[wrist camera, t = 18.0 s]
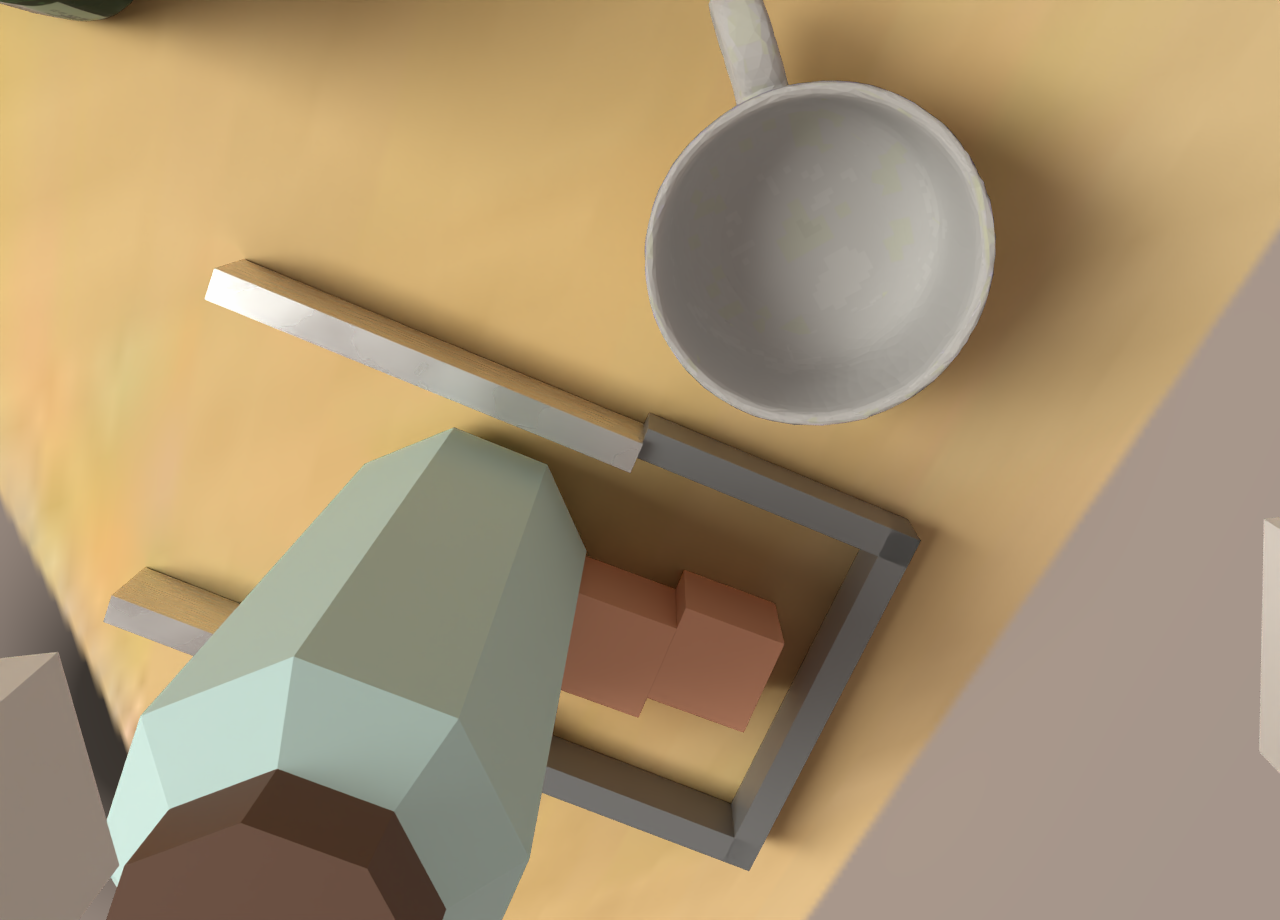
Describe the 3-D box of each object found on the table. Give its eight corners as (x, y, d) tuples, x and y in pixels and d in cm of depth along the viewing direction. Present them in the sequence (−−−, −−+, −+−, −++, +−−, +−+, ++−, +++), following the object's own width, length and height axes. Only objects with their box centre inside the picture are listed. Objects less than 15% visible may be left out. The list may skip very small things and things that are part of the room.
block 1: (675, 588, 48) (676, 628, 44) (640, 671, 49) (638, 717, 45) (584, 554, 47) (577, 592, 43) (550, 638, 48) (540, 682, 44)
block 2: (774, 602, 48) (784, 644, 44) (737, 684, 49) (743, 732, 45) (684, 569, 47) (685, 608, 44) (648, 652, 48) (647, 697, 45)
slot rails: (644, 424, 46) (642, 444, 43) (509, 734, 49) (499, 772, 47) (243, 259, 44) (214, 268, 41) (137, 592, 48) (103, 621, 45)
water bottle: (291, 538, 47) (-96, 965, 23) (457, 367, 45) (220, 642, 21) (472, 697, 49) (287, 1246, 25) (639, 540, 47) (613, 974, 23)
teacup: (950, 355, 45) (1009, 403, 37) (670, 397, 45) (671, 452, 38) (917, -31, 41) (975, -67, 33) (613, 21, 42) (601, -3, 34)
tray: (907, 519, 46) (920, 540, 44) (745, 835, 51) (749, 871, 48) (649, 412, 45) (648, 428, 43) (505, 744, 50) (496, 775, 47)
